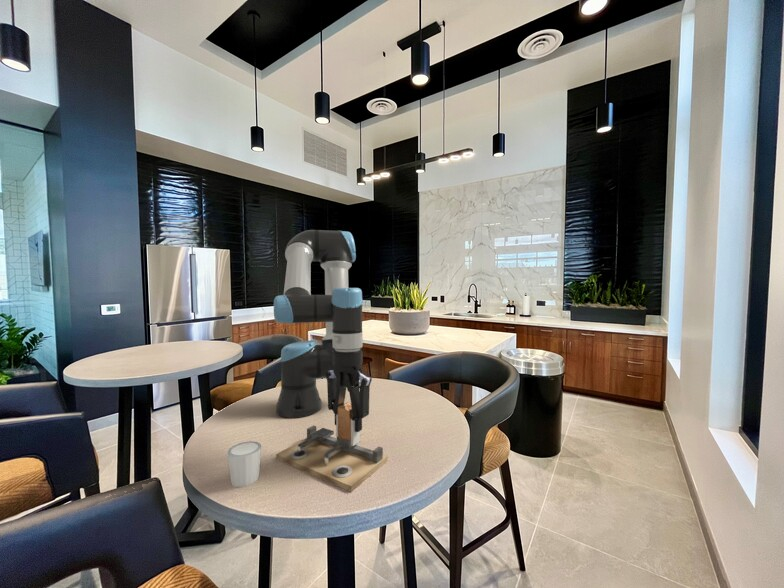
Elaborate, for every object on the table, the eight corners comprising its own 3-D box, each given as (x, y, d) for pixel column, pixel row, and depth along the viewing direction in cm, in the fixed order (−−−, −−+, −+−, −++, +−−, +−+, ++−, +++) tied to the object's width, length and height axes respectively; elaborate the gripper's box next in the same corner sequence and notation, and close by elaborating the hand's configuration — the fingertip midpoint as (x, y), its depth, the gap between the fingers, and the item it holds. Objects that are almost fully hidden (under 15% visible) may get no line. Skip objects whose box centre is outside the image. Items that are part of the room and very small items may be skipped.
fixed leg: (292, 451, 79) (292, 443, 79) (323, 434, 88) (322, 427, 88) (303, 455, 77) (303, 448, 77) (333, 438, 86) (333, 431, 86)
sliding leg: (318, 462, 75) (318, 416, 74) (348, 442, 84) (347, 401, 83) (331, 467, 72) (331, 419, 72) (360, 446, 81) (360, 404, 81)
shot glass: (235, 471, 74) (235, 441, 74) (265, 469, 75) (265, 440, 74) (222, 490, 67) (221, 457, 67) (255, 488, 68) (255, 455, 67)
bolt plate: (276, 459, 79) (276, 443, 79) (317, 436, 91) (317, 422, 91) (351, 492, 66) (351, 473, 66) (387, 460, 78) (387, 444, 78)
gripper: (312, 347, 81) (313, 438, 82) (365, 355, 72) (366, 457, 73) (332, 343, 88) (333, 427, 88) (384, 349, 78) (384, 443, 79)
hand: (348, 440), depth 80 cm, fingers closed on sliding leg, 4 cm apart
